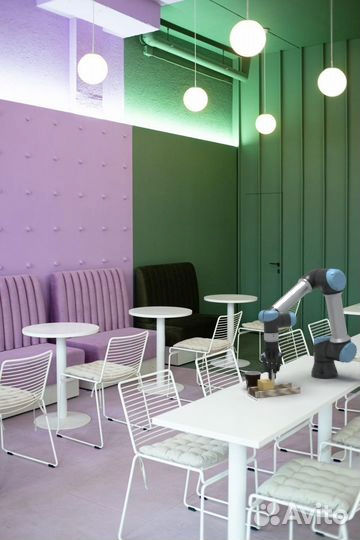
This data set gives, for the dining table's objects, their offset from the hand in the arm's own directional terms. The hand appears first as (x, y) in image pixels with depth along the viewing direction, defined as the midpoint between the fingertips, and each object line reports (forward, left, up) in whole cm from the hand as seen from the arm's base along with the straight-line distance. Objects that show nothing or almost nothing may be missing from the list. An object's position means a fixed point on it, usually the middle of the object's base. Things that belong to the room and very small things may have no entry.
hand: (272, 385), depth 324 cm
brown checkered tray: (-1, 0, -6) cm, 6 cm away
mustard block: (+4, 0, -4) cm, 6 cm away
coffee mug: (+5, -14, -6) cm, 16 cm away
